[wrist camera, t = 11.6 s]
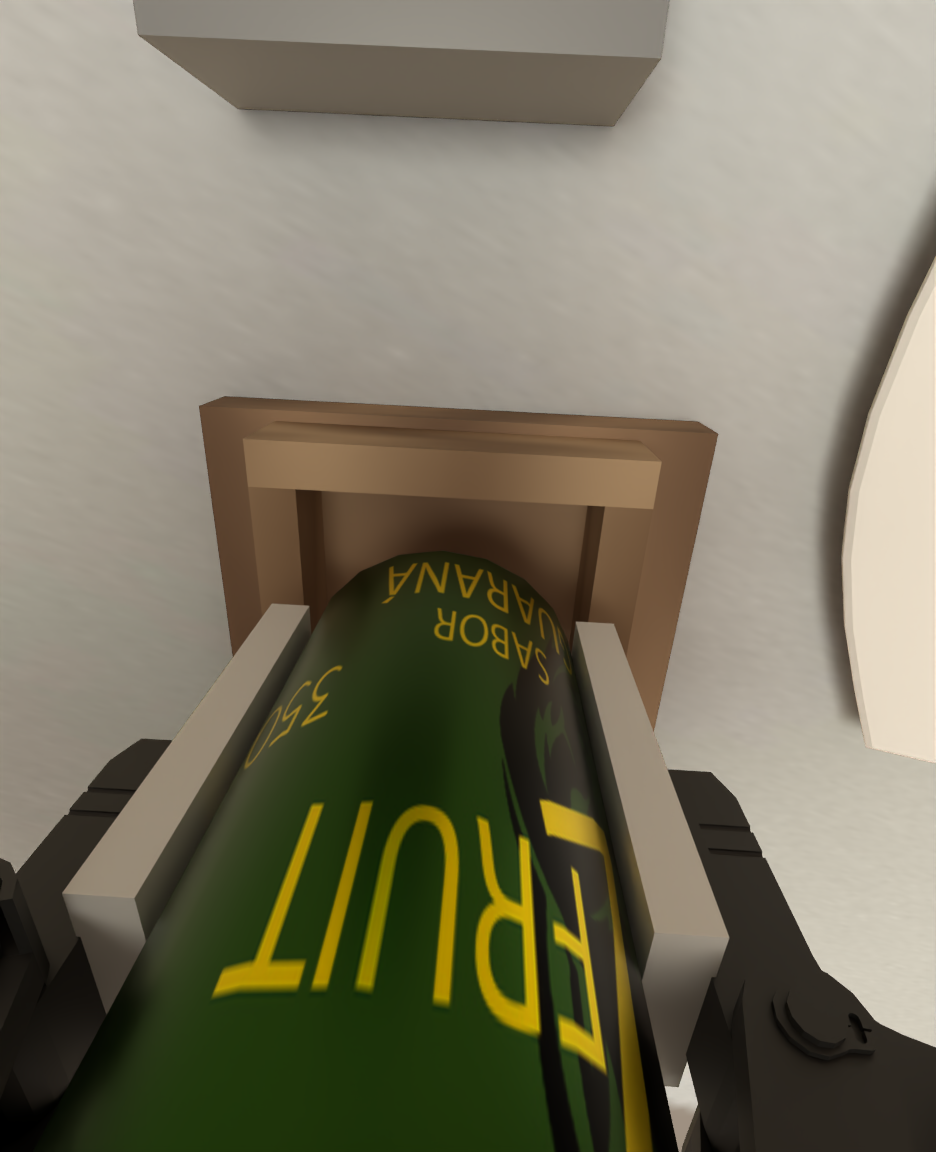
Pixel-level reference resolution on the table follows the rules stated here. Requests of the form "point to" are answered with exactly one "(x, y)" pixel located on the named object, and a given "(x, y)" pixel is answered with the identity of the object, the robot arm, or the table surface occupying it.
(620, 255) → the table surface
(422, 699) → the green drink can
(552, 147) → the table surface
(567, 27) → the grey square socket block
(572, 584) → the wooden tray
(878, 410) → the plate
